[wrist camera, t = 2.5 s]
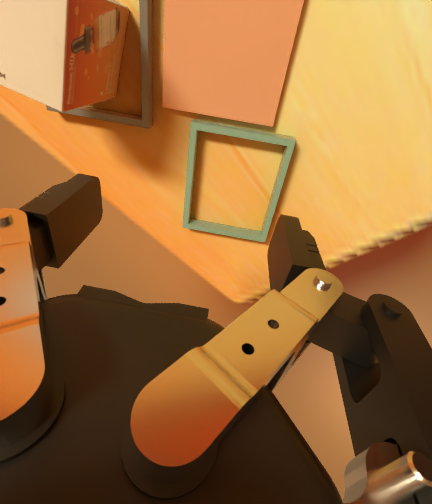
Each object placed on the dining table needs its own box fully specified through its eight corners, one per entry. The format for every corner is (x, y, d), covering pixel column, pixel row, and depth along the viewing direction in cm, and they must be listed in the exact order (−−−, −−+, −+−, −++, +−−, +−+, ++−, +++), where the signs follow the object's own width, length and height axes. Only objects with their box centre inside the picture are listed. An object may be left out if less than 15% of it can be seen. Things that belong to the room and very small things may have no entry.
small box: (117, 98, 30) (63, 116, 22) (66, 74, 29) (-11, 84, 21) (131, 7, 25) (70, -15, 17) (71, -24, 24) (-25, -63, 16)
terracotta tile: (310, -31, 22) (312, -33, 22) (272, 125, 30) (272, 126, 29) (167, -55, 23) (165, -58, 22) (164, 105, 30) (162, 107, 29)
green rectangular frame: (294, 137, 30) (296, 140, 29) (264, 236, 38) (265, 242, 37) (193, 119, 30) (190, 121, 29) (184, 221, 38) (182, 227, 37)
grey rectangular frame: (152, -44, 23) (146, -49, 22) (152, 125, 31) (148, 128, 30) (21, -67, 23) (8, -73, 22) (55, 107, 31) (47, 110, 30)
